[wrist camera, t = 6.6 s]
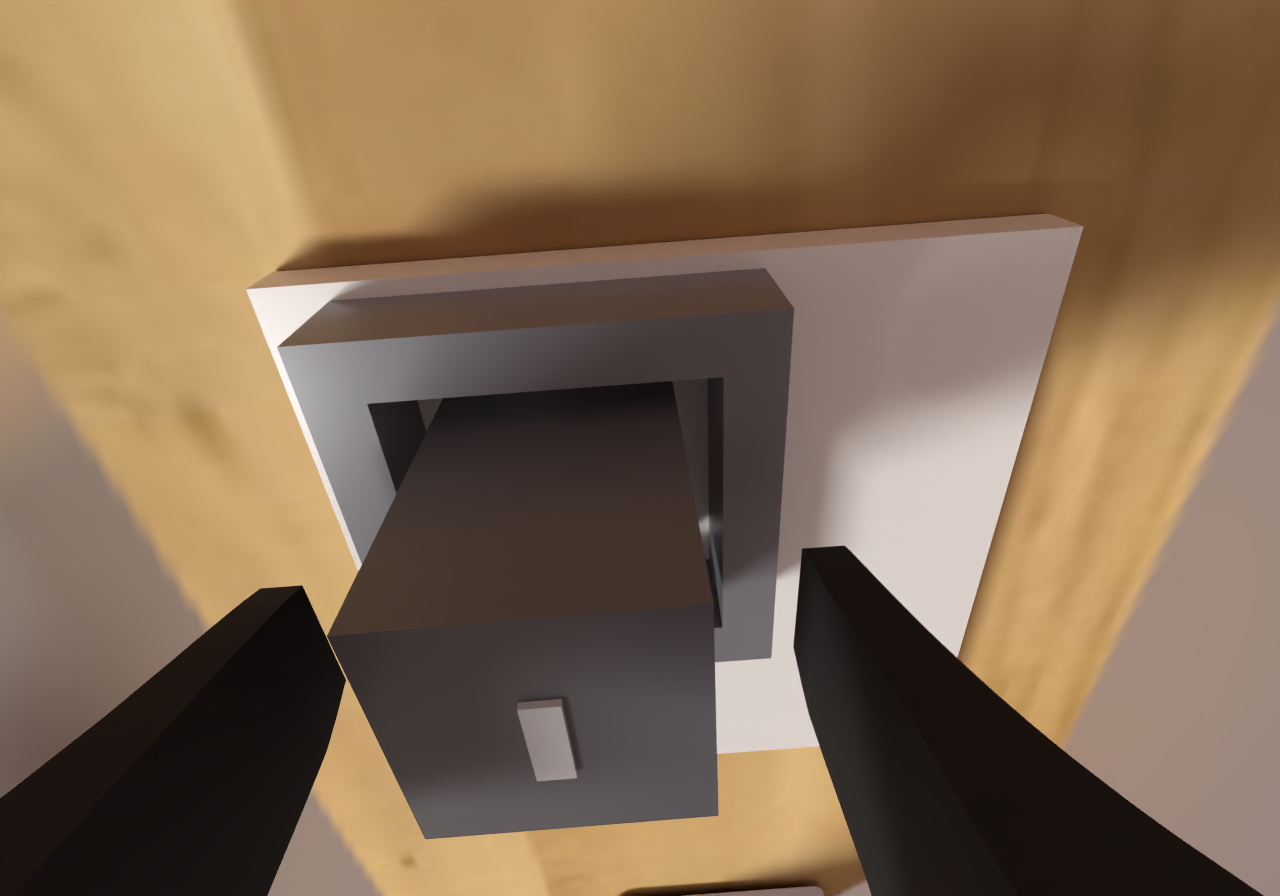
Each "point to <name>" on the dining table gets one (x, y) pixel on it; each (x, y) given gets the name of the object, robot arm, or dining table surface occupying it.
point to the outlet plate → (720, 399)
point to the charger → (541, 618)
